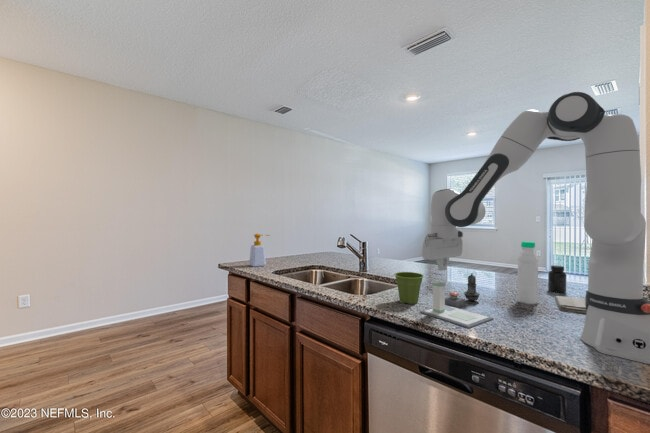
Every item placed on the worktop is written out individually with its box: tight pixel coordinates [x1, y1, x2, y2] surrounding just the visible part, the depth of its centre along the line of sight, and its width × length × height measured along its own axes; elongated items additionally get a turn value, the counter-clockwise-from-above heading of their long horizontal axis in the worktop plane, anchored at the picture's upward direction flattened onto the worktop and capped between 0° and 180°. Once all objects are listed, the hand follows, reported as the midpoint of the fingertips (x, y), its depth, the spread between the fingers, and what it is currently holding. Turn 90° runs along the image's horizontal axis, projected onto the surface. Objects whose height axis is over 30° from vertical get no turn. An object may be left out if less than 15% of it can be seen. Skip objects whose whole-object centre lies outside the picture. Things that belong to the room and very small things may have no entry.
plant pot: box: [393, 271, 425, 305], centre depth 127 cm, size 12×12×11 cm
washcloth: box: [554, 295, 587, 315], centre depth 120 cm, size 12×18×3 cm, turn 149°
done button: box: [448, 291, 460, 300], centre depth 122 cm, size 4×4×4 cm
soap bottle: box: [248, 233, 270, 268], centre depth 214 cm, size 10×14×22 cm
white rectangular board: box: [419, 305, 494, 329], centre depth 109 cm, size 19×15×1 cm
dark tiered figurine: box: [463, 273, 480, 305], centre depth 126 cm, size 6×6×12 cm
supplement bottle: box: [547, 265, 567, 294], centre depth 144 cm, size 7×7×12 cm
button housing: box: [445, 295, 466, 308], centre depth 122 cm, size 6×6×2 cm
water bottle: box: [516, 240, 539, 305], centre depth 126 cm, size 7×7×25 cm
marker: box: [431, 280, 446, 313], centre depth 112 cm, size 3×3×10 cm
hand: (442, 269), depth 114 cm, fingers closed
